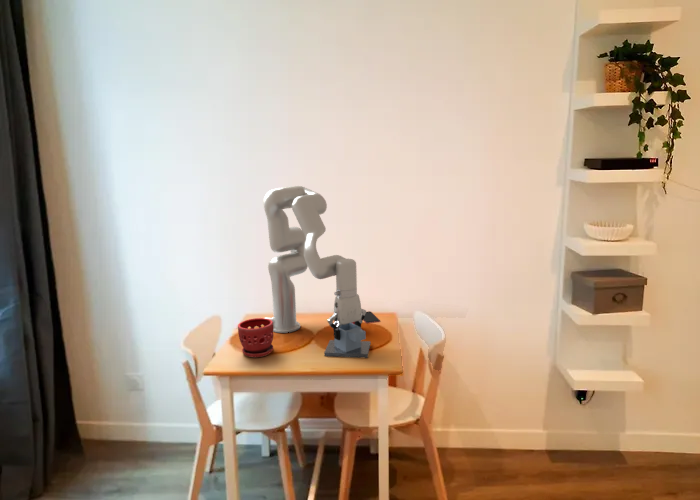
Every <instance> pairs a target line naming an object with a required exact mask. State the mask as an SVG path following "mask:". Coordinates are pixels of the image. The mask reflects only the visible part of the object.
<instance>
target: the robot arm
mask: <svg viewBox="0 0 700 500" xmlns="http://www.w3.org/2000/svg"><path fill="white" fill-rule="evenodd" d="M327 205H328V204H327V201H326V199H325V198H324V196H323V195H322V194H320V193H319V192H316V191H314V190H312V189H309V188H307V187H305V186H303V185H302V186H301V185H300V186H299V185H297V186H296V185H295V186H286V187H278V188H274V189H271V190H269V191H267V192H266V194H265V196H264V197H263V209H264V213H265V216H266V219H267V230H268V239H269V241H268V242H269V246H270V249H271V251H272V252H274V253H285V252H289V251H290V253H286V254H281V255H280V254H279V255H278V256H275V257H273V258H271V259H270V260H269V262H268V265H267V266H268V267H267V268H268V273H269V277H270V283H271V293H272V294H271V295H272V308H273V309H272V311H273V312H272V313H273V316H272V317H265V318H266V319H270V320H272V321H273V328H274V329H273V333H279V334H287V333H288V332H289V333H293V332H296V331H298V330H300V328H301V323H300V322H299V321H297V308H296V307H297V305H296V304H297V303H296V288H295V284H294V283H293V281H292V280H291V277H293V276H297V275H301V274H303V273H305V272H306V271H307V269H308V270H309V272H310V273H311V275H312V276H313V277H314V278H316V279H318V280H324V279H327V278H332V277H335V279H336V280H335V283H336V284H335V285H336V288H335V290H336V291H334V292H333V293H334V296H335V298H334V305H333V314H332V315H331V316H330V317H329V318H328V319H327V320H326V321H327V323H328V325H329V327H331V328H332V330H333V338H335V339H337V340H340V330H339V328H340V326H341V325H345V324H349V323H353V322H355V325H357V326H359V327H361V328H362V324H363V322H364V321H363V319H364V317H365V314H366V312H367V310H366V309H363V308H362V304H361V299H360V294H359V293H358V288H357V287H358V284H357V283H358V280H357V279H358V277H357V275H358V274H357V262H356V260H355V259H352V258H346V257H343V256H342V255H339V254H334V255H330V256H326V257H321V256H320V255H319V253H318V250H317V242H318V240H319V238H320V237H322V236H323V235H324V234H325V232H326V226H325V224H324V222H323V219H322V218H321V215H322V214H325V212H326V211H327V208H328V206H327ZM285 209H286V210H287V209H292V212H293V214H294V216H295V217H296V220H297V223H298V224H299V226H298V227H297V226H291V227H290V224H289V223H290V222H289V217H288V215H287V214H286V212H285ZM334 321H335V322H334ZM337 324H338V325H337Z"/></svg>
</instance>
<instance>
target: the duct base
mask: <svg viewBox="0 0 700 500" xmlns="http://www.w3.org/2000/svg"><path fill="white" fill-rule="evenodd" d="M371 344H372V343H371V341H368V340H367V341H366V340H361V347H360V348H357V349H354V350H351V351H348V352H345V351H343V350H341V349H339V348H337V347H335V345H334V339H329V341H328V343H327V345H326V348H325V349H324V352H323V353H324V355H323V356H324V357H328V358H329V357H333V358H335V357H336V358H359V359H368V358H369V353H370V350H369V349H370V348H371V346H370V345H371Z"/></svg>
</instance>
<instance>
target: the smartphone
mask: <svg viewBox="0 0 700 500" xmlns="http://www.w3.org/2000/svg"><path fill="white" fill-rule="evenodd" d="M363 322H364V323H365V324H375V323H380V322H381V319H379V318H378V316H376V315H375V313H373V312H372V311H369V310H368V311H366V314H365V317H364V319H363Z"/></svg>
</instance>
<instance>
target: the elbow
mask: <svg viewBox="0 0 700 500" xmlns="http://www.w3.org/2000/svg"><path fill="white" fill-rule="evenodd" d="M339 330H340V340H337V339H335V338H334V337H333V338H334V339H333V340H334V345H335V347H337V348H339V349H341V350H343V351H345V352H348V351H351V350H354V349H357V348H360V347H361V341H365V340H366V339H367V337H366V336H367V335H366V334H367V333H366V330H363V329H362V326H361V327H359V326H357V325H355V324H353V323H349V324H345V325H341V326H340V328H339Z"/></svg>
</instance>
